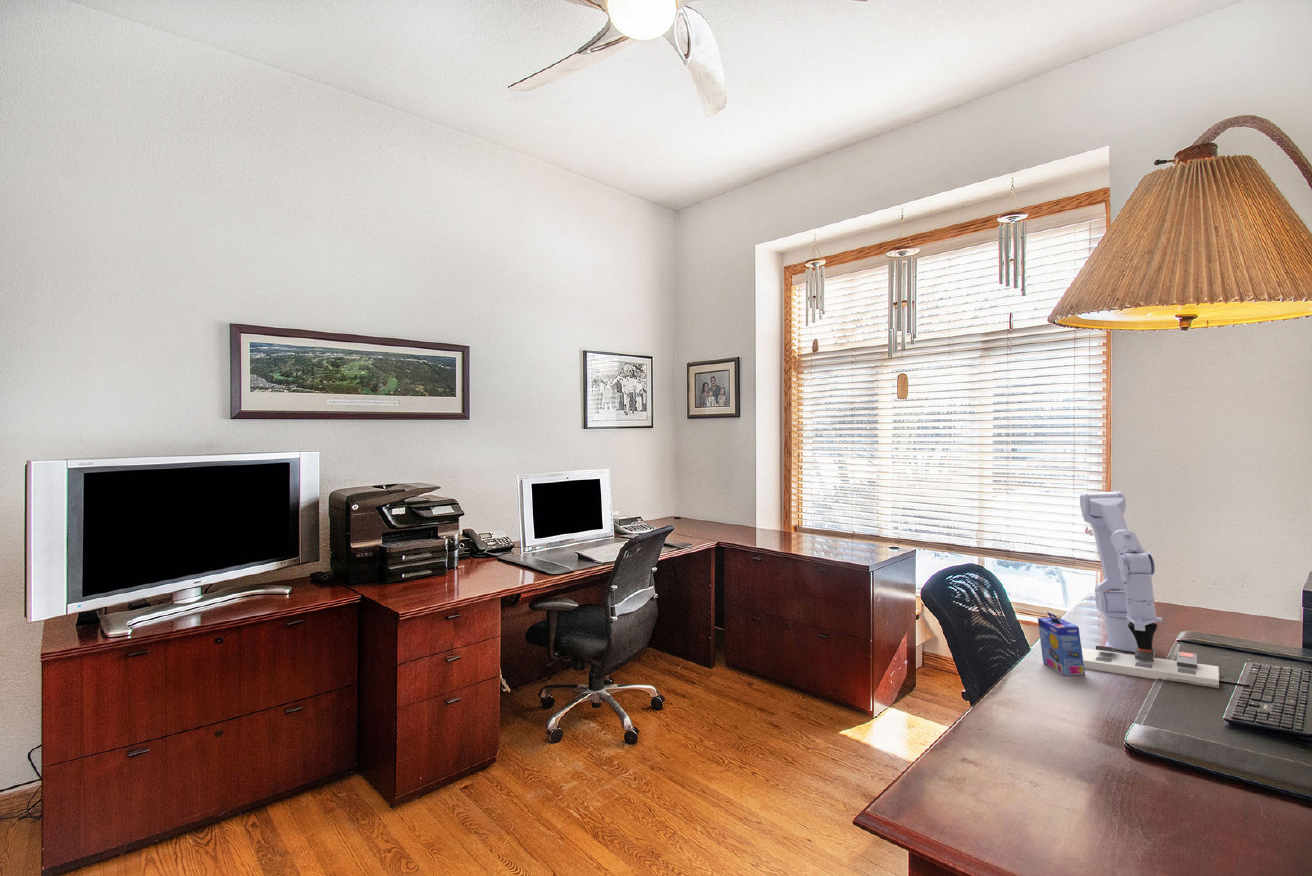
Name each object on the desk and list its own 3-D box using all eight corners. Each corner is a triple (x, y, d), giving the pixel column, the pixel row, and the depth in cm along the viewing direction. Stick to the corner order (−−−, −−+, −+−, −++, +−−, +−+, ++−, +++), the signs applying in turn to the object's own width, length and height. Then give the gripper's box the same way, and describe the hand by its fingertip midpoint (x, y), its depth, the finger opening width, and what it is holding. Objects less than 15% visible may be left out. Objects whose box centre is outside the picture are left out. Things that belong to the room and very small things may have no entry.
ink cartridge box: (1041, 663, 157) (1035, 608, 157) (1062, 662, 156) (1057, 608, 157) (1062, 676, 147) (1056, 618, 148) (1086, 675, 146) (1079, 617, 147)
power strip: (1083, 655, 160) (1082, 647, 160) (1248, 678, 138) (1247, 669, 138) (1076, 667, 152) (1075, 658, 152) (1250, 693, 130) (1249, 684, 130)
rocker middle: (1136, 650, 152) (1136, 646, 152) (1154, 652, 149) (1154, 648, 149) (1135, 659, 148) (1134, 655, 148) (1153, 661, 146) (1153, 657, 146)
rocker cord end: (1177, 655, 146) (1176, 651, 146) (1196, 657, 144) (1196, 653, 144) (1177, 665, 143) (1176, 661, 143) (1197, 668, 140) (1196, 664, 140)
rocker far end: (1099, 649, 157) (1098, 645, 158) (1115, 651, 155) (1115, 647, 155) (1095, 649, 154) (1095, 645, 154) (1113, 651, 151) (1112, 647, 152)
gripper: (1157, 607, 143) (1164, 663, 142) (1161, 595, 154) (1167, 647, 153) (1121, 603, 148) (1127, 658, 147) (1127, 592, 158) (1133, 643, 158)
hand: (1145, 652), depth 150 cm, fingers closed, pressing on rocker middle
